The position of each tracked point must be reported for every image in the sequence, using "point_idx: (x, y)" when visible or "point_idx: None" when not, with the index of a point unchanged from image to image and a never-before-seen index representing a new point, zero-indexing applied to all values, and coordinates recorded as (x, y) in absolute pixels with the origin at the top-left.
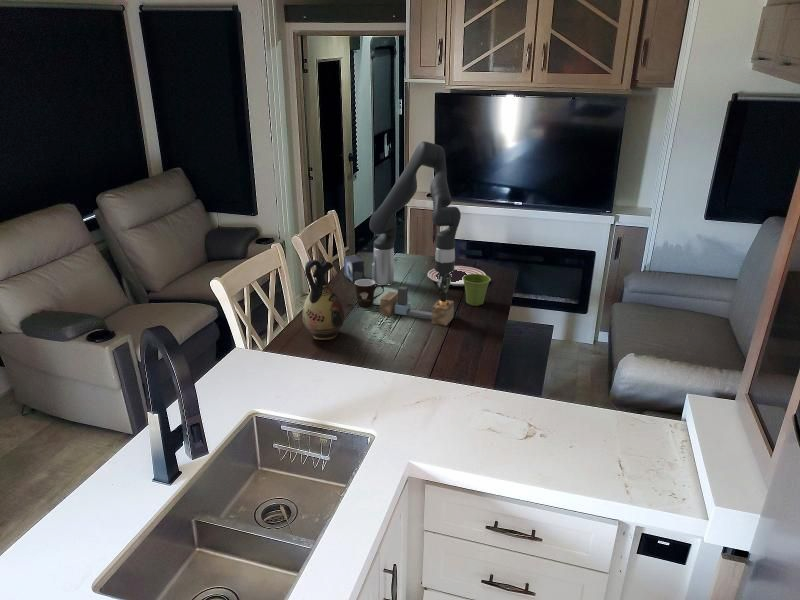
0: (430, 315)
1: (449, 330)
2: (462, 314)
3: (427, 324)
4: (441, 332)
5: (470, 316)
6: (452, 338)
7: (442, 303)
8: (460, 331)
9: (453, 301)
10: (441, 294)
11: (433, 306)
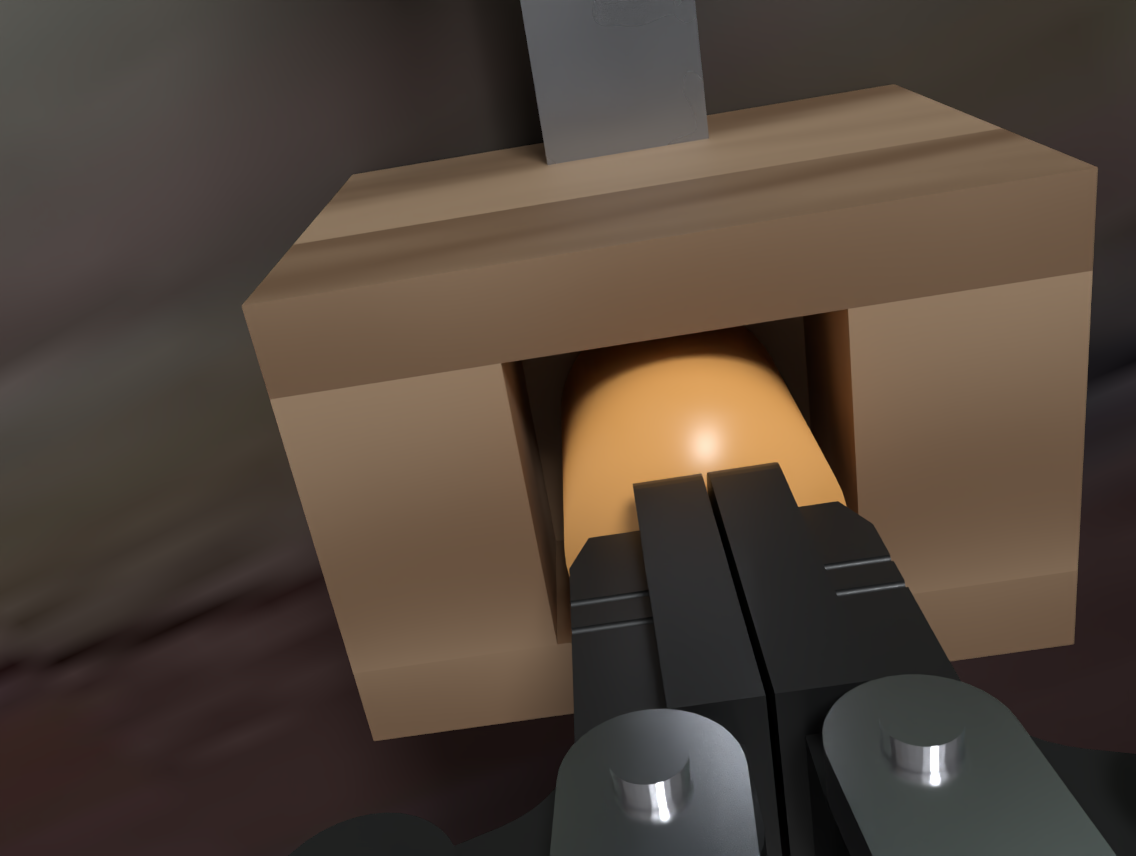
0: (528, 37)
1: (279, 617)
2: (1131, 500)
3: (240, 112)
4: (102, 543)
5: (1084, 654)
6: (34, 779)
7: (569, 553)
8: (364, 769)
9: (1046, 641)
10: (575, 742)
11: (302, 322)
